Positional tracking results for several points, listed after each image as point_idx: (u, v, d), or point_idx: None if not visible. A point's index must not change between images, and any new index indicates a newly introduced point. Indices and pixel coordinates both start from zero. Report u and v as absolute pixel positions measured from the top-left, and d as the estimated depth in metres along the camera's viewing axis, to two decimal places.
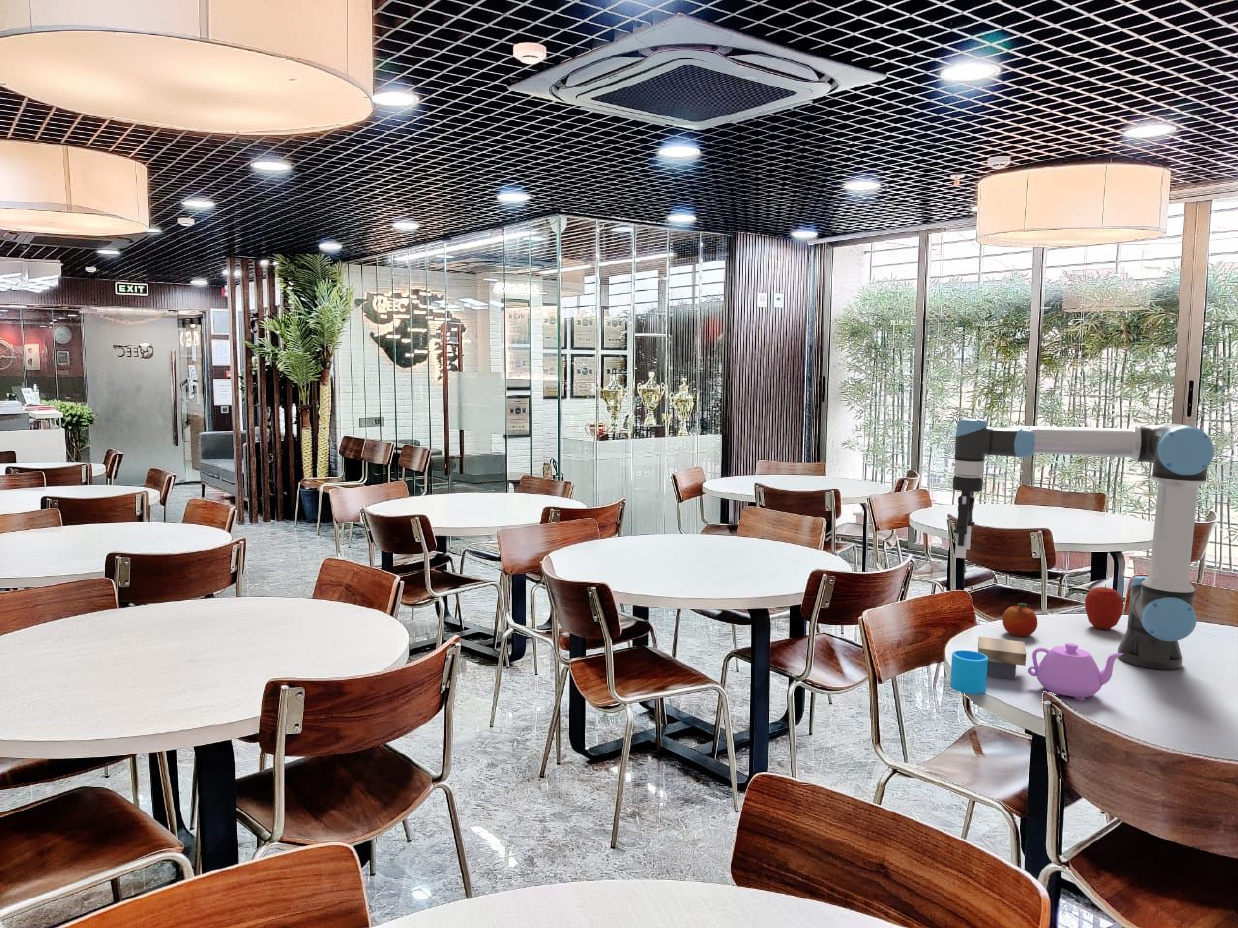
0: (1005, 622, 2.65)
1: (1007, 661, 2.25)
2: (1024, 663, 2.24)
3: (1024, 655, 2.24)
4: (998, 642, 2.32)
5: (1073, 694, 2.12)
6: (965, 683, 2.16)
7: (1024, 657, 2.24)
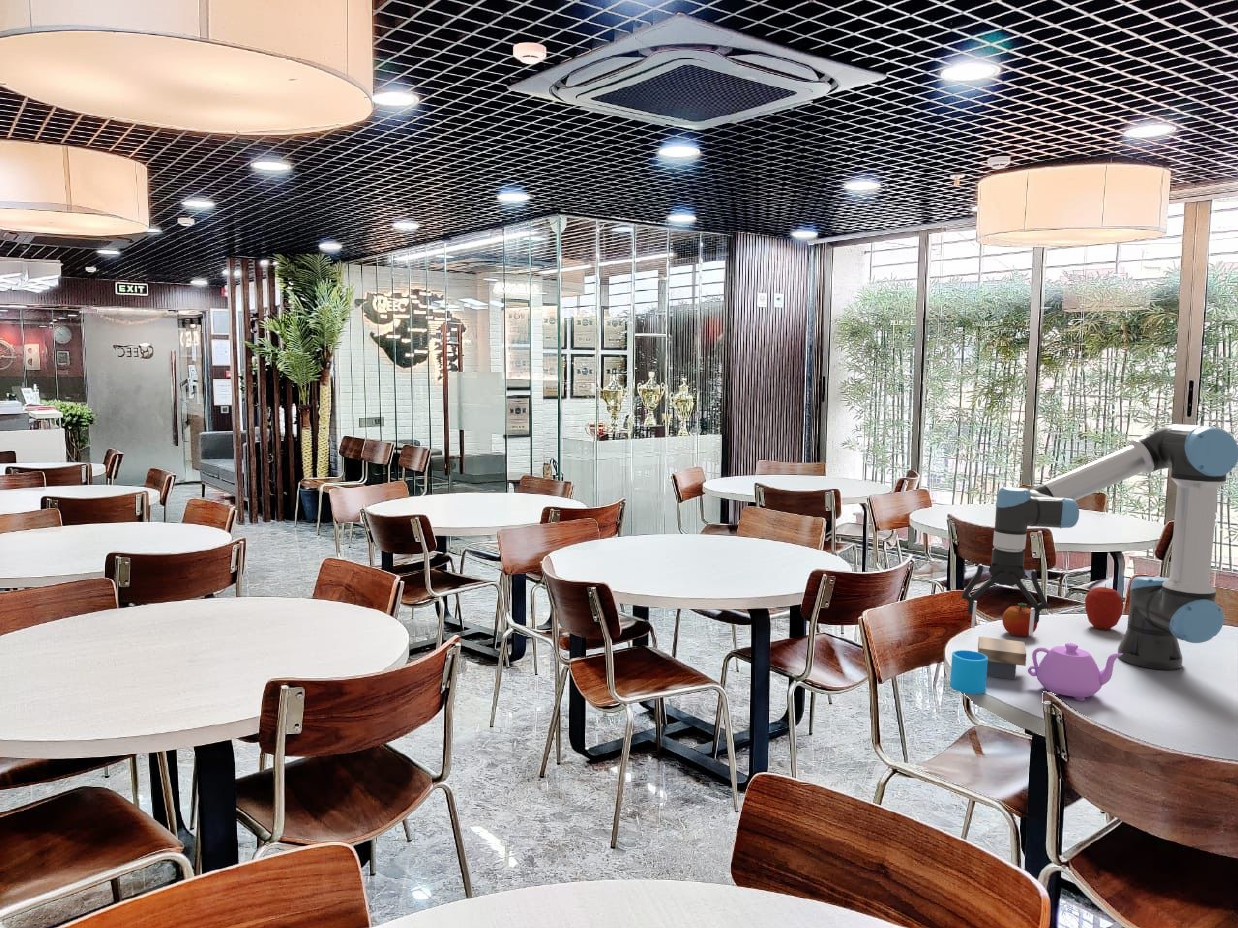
0: (1005, 622, 2.65)
1: (1007, 661, 2.25)
2: (1024, 663, 2.24)
3: (1024, 655, 2.24)
4: (998, 642, 2.32)
5: (1073, 694, 2.12)
6: (965, 683, 2.16)
7: (1024, 657, 2.24)
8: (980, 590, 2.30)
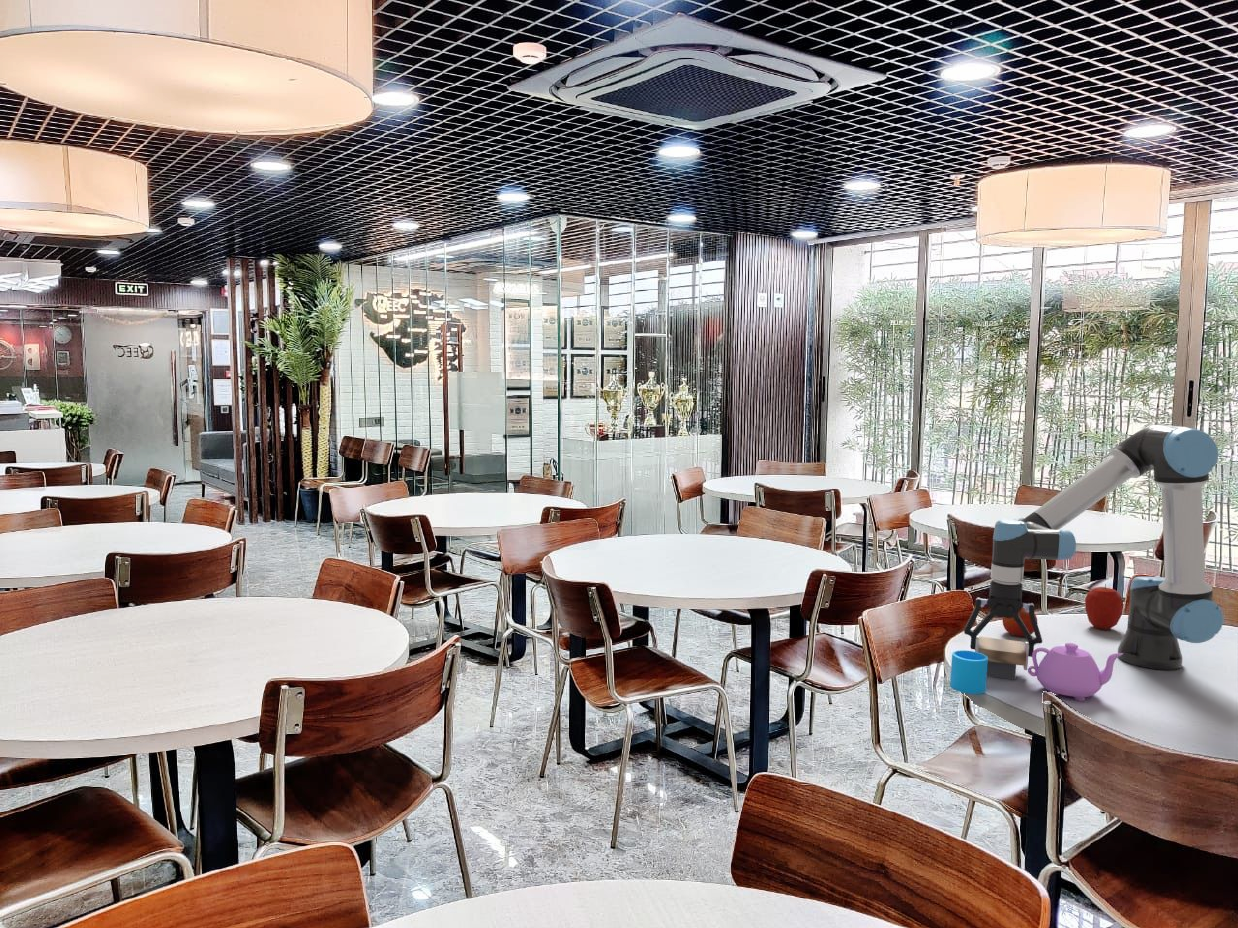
0: (1005, 622, 2.65)
1: (1007, 661, 2.25)
2: (1024, 663, 2.24)
3: (1024, 655, 2.24)
4: (998, 642, 2.32)
5: (1073, 694, 2.12)
6: (965, 683, 2.16)
7: (1024, 657, 2.24)
8: (981, 624, 2.31)
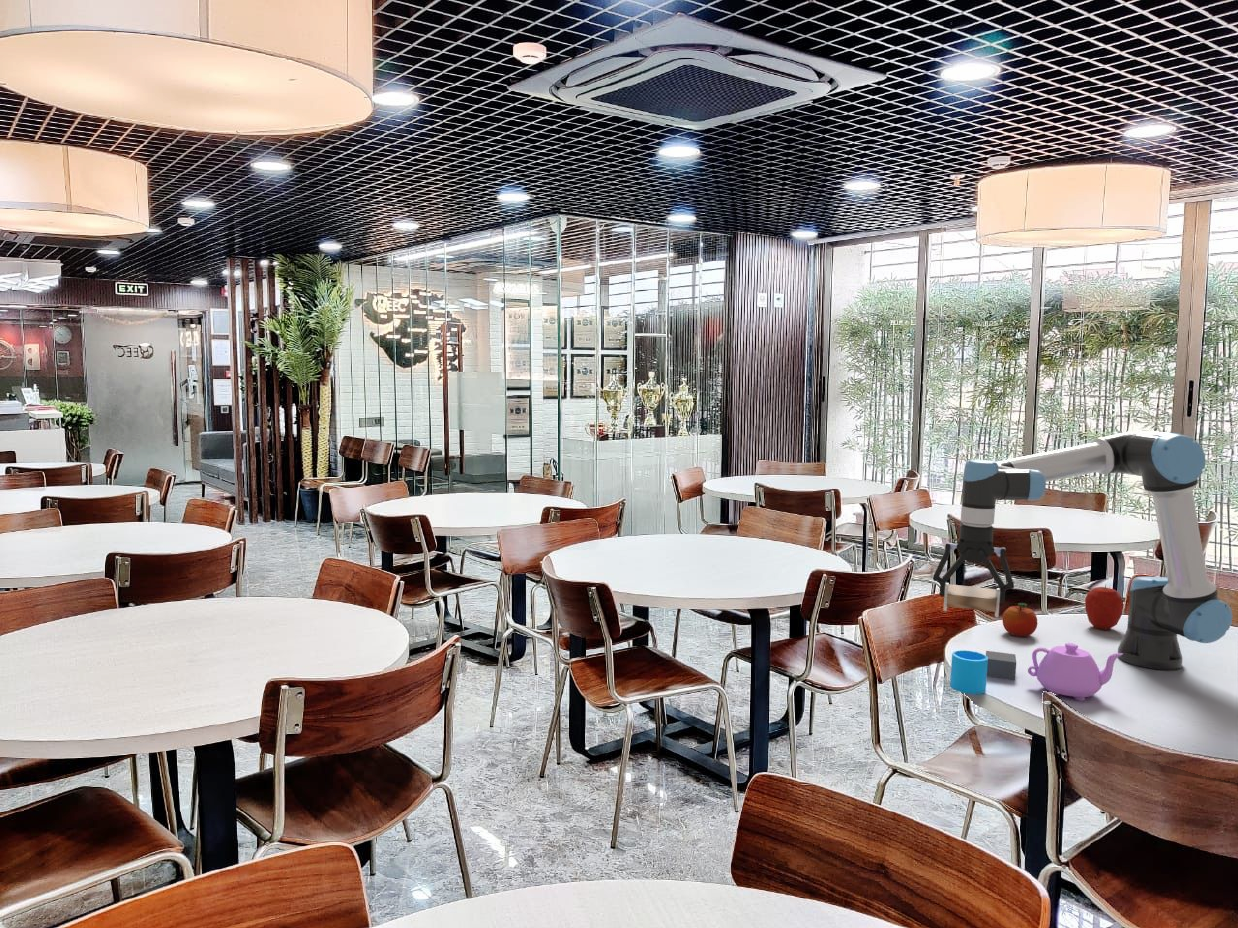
0: (1005, 622, 2.65)
1: (977, 607, 2.14)
2: (994, 609, 2.13)
3: (994, 600, 2.13)
4: (968, 589, 2.22)
5: (1073, 694, 2.12)
6: (965, 683, 2.16)
7: (994, 603, 2.13)
8: (950, 570, 2.20)
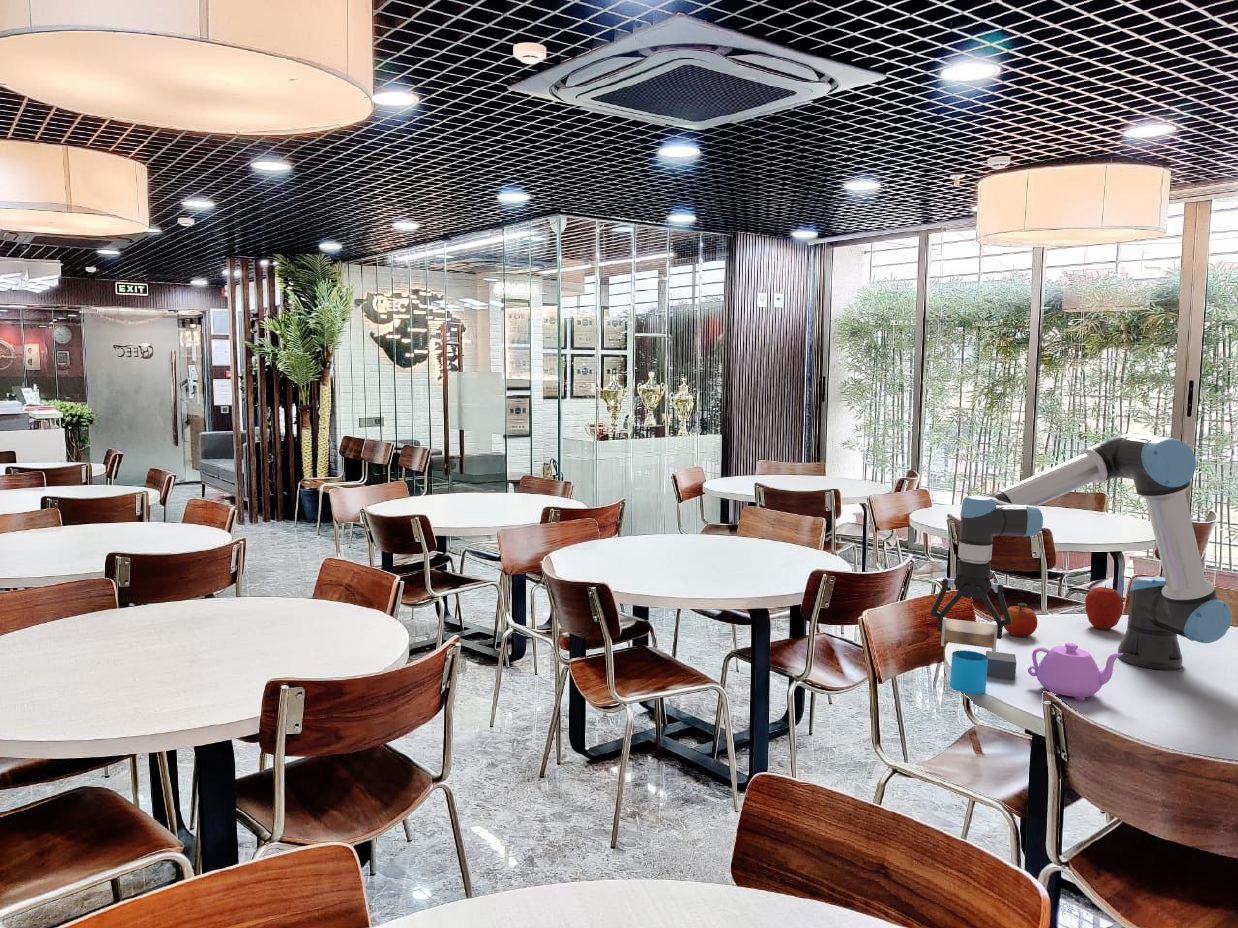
0: None
1: (974, 643, 2.15)
2: (992, 645, 2.14)
3: (992, 637, 2.14)
4: (966, 624, 2.22)
5: (1073, 694, 2.12)
6: (965, 683, 2.16)
7: (992, 639, 2.14)
8: (948, 605, 2.21)
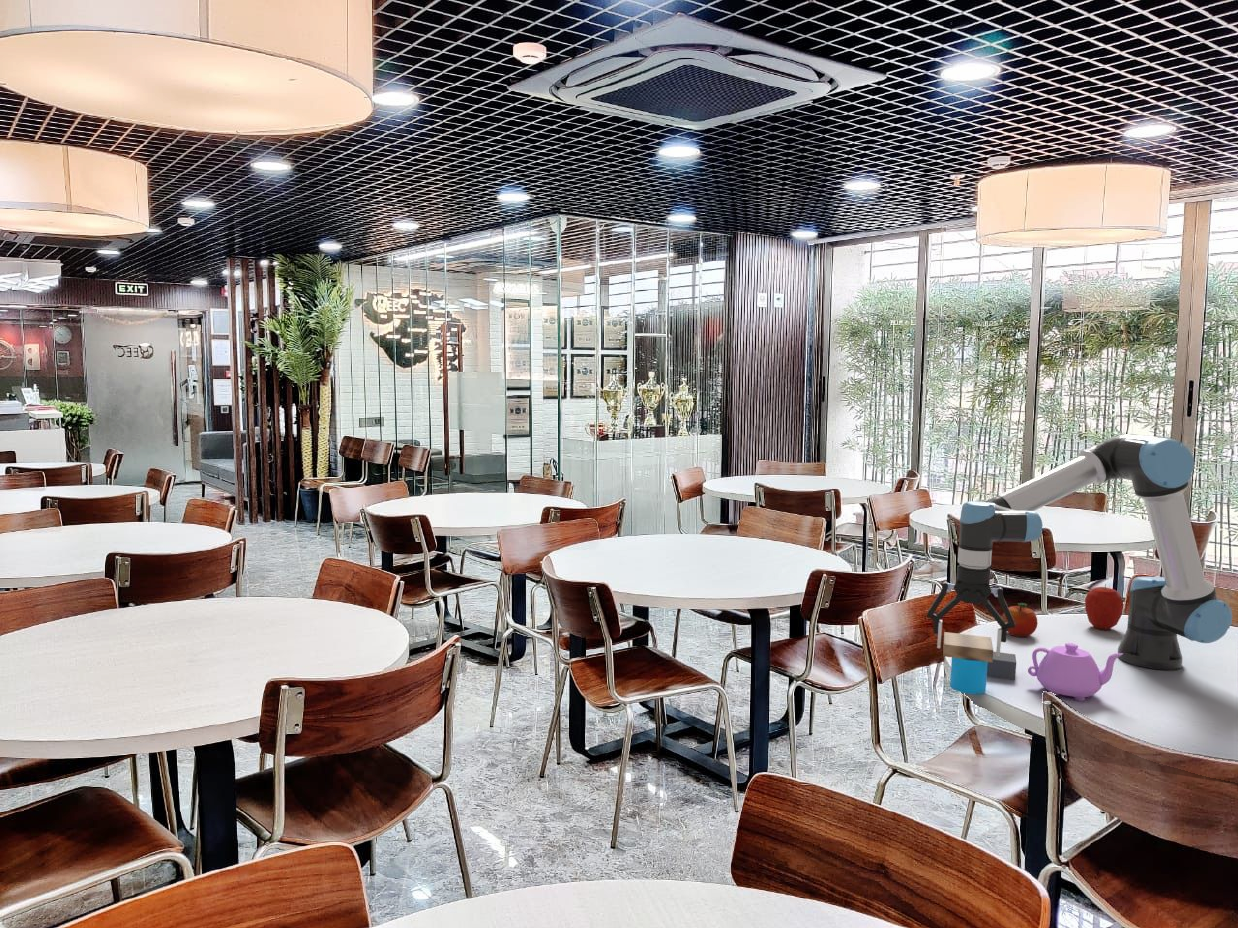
0: None
1: (973, 657, 2.16)
2: (991, 659, 2.15)
3: (991, 651, 2.14)
4: (964, 638, 2.23)
5: (1073, 694, 2.12)
6: (966, 683, 2.16)
7: (991, 653, 2.15)
8: (945, 609, 2.21)
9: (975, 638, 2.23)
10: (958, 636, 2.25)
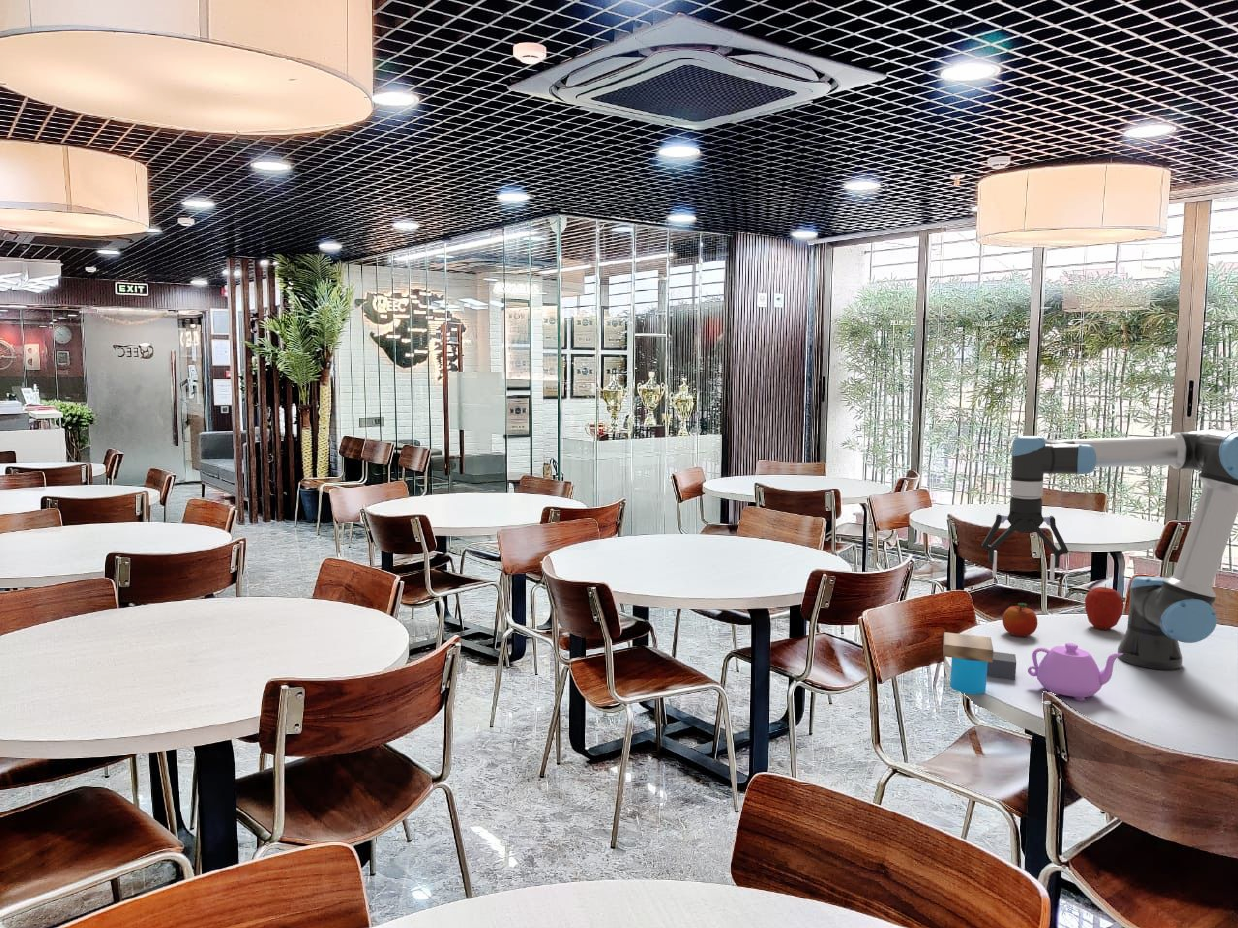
0: (1005, 622, 2.65)
1: (974, 657, 2.16)
2: (991, 659, 2.15)
3: (991, 651, 2.14)
4: (964, 638, 2.23)
5: (1073, 694, 2.12)
6: (966, 683, 2.16)
7: (991, 653, 2.15)
8: (1000, 539, 2.33)
9: (975, 638, 2.23)
10: (958, 636, 2.25)
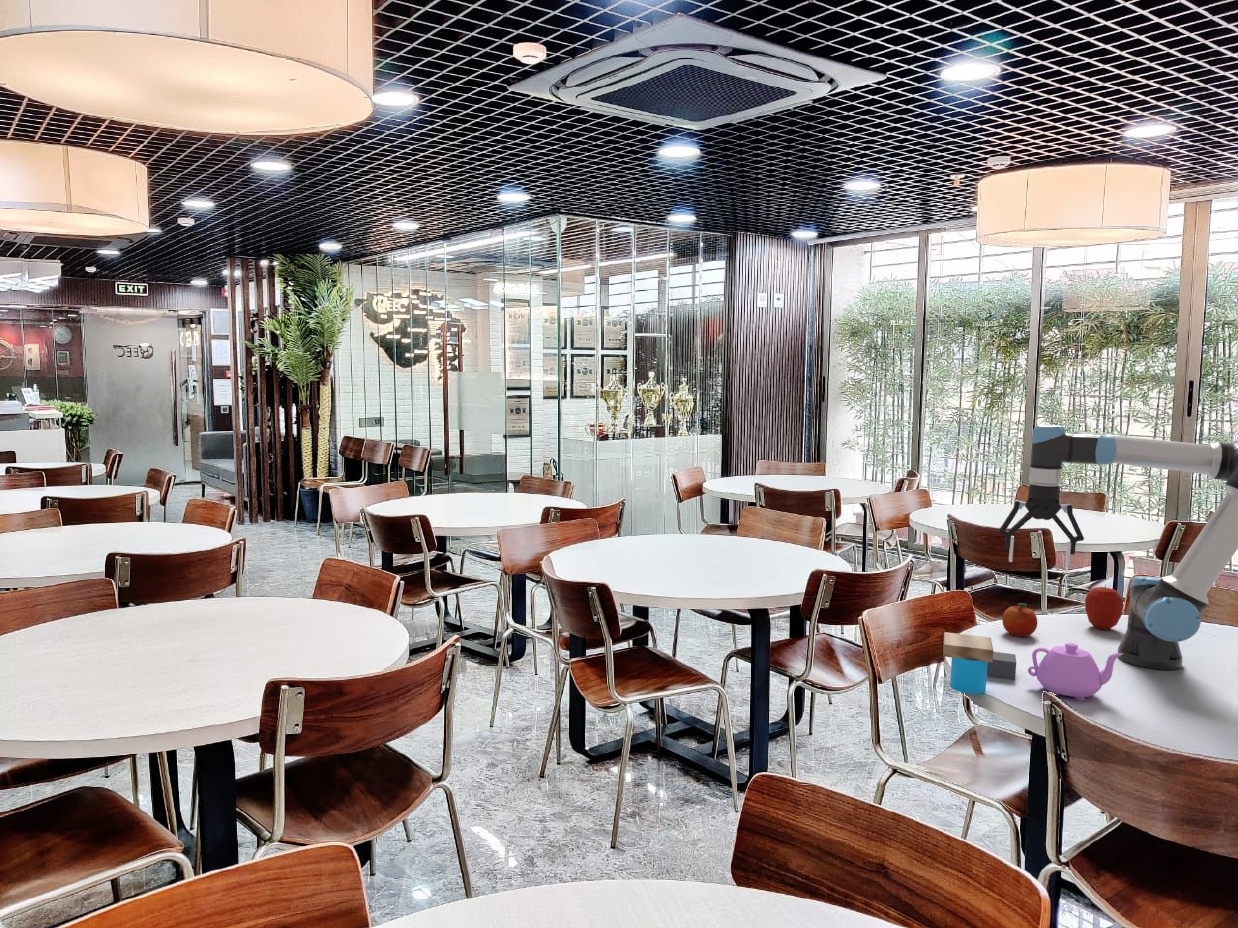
0: (1005, 622, 2.65)
1: (973, 657, 2.16)
2: (991, 659, 2.15)
3: (991, 651, 2.14)
4: (964, 638, 2.23)
5: (1073, 694, 2.12)
6: (966, 683, 2.16)
7: (991, 653, 2.15)
8: (1017, 525, 2.38)
9: (975, 638, 2.23)
10: (958, 636, 2.25)
